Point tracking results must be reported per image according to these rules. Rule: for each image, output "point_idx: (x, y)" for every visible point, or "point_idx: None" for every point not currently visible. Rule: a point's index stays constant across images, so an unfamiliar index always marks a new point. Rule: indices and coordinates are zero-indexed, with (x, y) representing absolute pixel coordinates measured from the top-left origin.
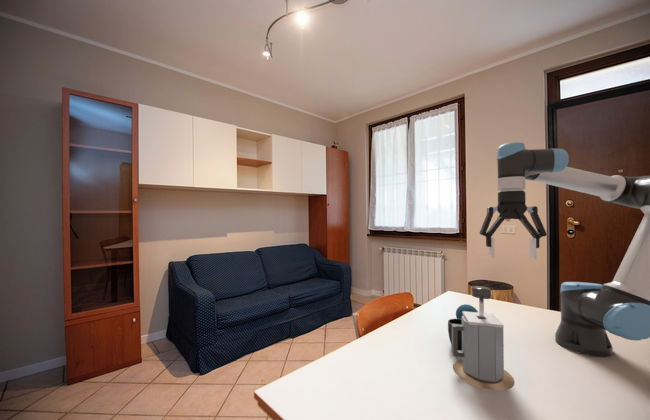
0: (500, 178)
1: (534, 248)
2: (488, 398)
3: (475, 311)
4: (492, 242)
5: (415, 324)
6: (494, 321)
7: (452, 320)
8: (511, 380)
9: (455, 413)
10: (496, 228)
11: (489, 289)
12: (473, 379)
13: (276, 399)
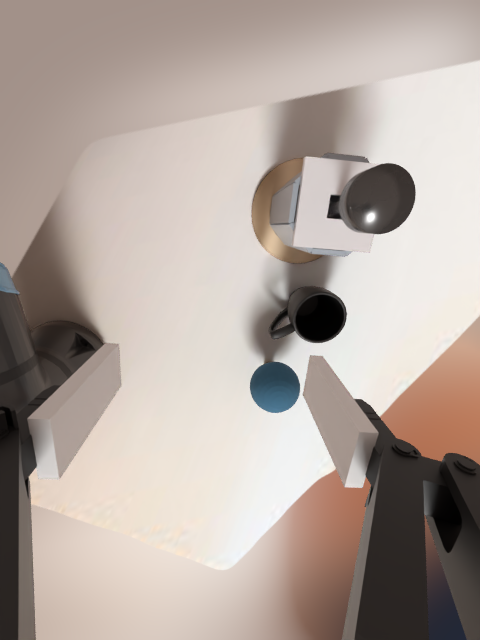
0: None
1: (86, 372)
2: (319, 138)
3: (264, 382)
4: (353, 407)
5: (358, 394)
6: (317, 181)
7: (329, 335)
8: (258, 197)
9: (391, 81)
10: (382, 515)
11: (360, 186)
12: None
13: None
